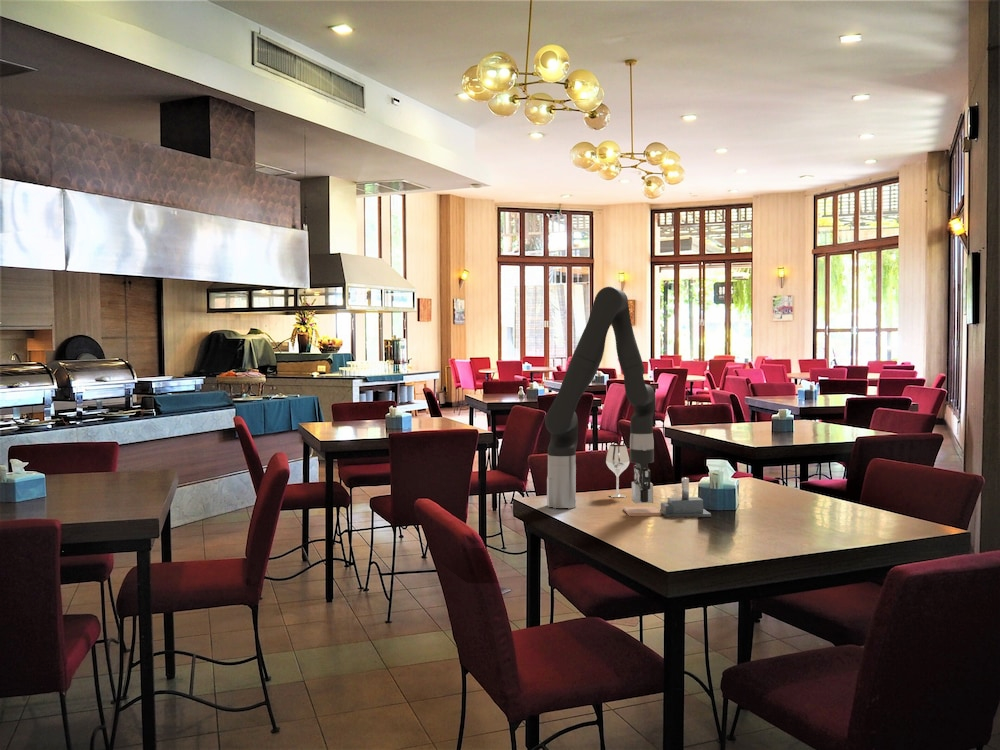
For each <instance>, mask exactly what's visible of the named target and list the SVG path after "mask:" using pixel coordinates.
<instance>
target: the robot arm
mask: <svg viewBox="0 0 1000 750" xmlns="http://www.w3.org/2000/svg"><path fill="white" fill-rule="evenodd" d="M588 317H589V318H588V319H587V323H586V326H585V327H584V330H583V332H582V334H581V336H580V337H579V338H580V339H579V340H578V343H577V345H576V347H575V350H574V352H573V354H572V356H571V359H570V361H569V364H568V366H567V369H566V372H565V374H564V377H563V378H562V382H561V386H560V387H559V390H558V392H557V394H556V397H554V400H553V401H552V403H551V405H550V407H549V409H548V411H547V413H546V415H545V418H544V425H545V428H546V430H547V431H548V433H550V441H549V444H548V446H547V477H546V506H547V505H548V506H547V507H548V508H549V507H553V508H552V509H556V508H568V509H574V508H576V505H577V504H576V503H577V497H576V495H577V494H576V491H577V490H576V489H577V487H576V485H577V483H576V481H577V480H576V479H577V478H576V477H577V476H576V474H577V471H576V470H577V464H576V460H577V457H576V456H577V455H576V452H577V451H576V450H577V446H578V436H579V435H578V432H579V419H578V415H577V413H576V409H577V407H578V403H579V401H580V399H581V397H582V396H583V394H584V393H585V392H586V390H587V389H588V387H589V386H590V384H591V383H592V381H593V380H594V378H595V377H596V374H597V371H598V370H599V367H600V366H601V363H602V361H603V357H604V352H605V346H606V340H607V336H608V331H609V330H610V327H611V326H612V330H613V333H614V338H615V349H616V354H617V359H618V362H619V363H618V364H619V366H620V369H621V372H622V375H623V380H624V381H623V383H624V390H625V395H626V399H627V400H628V402H629V404H630V405H631V406H633V407H634V409H633V414H632V415H631V416H630V422H629V423H630V427H629V428H630V435H629V463H633V464H635V465H633V479H634V481H633V482H638V483H640V489H641V502H648V490H649V489H650V482H651V477H652V476H651V474H652V472H651V470H650V468H649V464H651V463H654V462H655V447H654V446H655V441H654V430H653V429H654V427H653V426H654V421H653V420H654V419H653V418H654V414H655V413H654V412H655V407H656V393H655V390H654V388H653V387H652V386H651V385H650V384H647V383H646V382H645V378H644V374H645V372H646V370H645V366H644V365H645V364H644V363H643V362H644V361H643V359H642V356H641V353H640V350H639V347H638V346H639V345H638V344H637V340H636V337H635V332H634V329H633V324H632V319H631V312H630V305H629V300H628V296H627V294H626V293H625V292H624V291H623V290H622V289H619V288H618V287H614V286H605V287H602V288H601V289H599V291H598V292H597V294H596V296H594V300H593V304H592V307H591V310H590V314H589V316H588ZM644 483H646V485H644Z"/></svg>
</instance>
